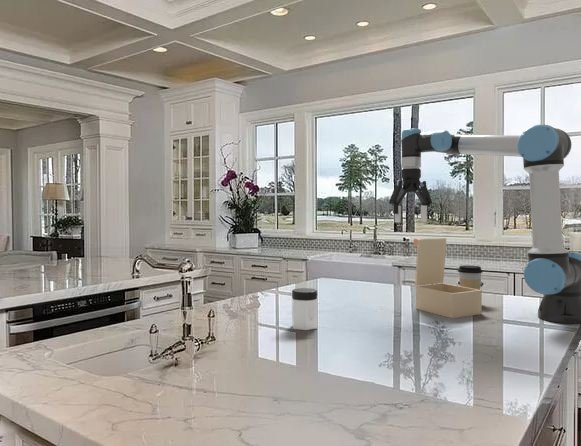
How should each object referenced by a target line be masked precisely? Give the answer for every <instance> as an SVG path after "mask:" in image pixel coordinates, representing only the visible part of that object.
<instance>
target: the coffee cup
mask: <svg viewBox="0 0 581 446" xmlns="http://www.w3.org/2000/svg"><path fill="white" fill-rule="evenodd" d="M457 272H458V273H459V286H461V287H466V288H472V289H477V290H481V286H482V285H481V284H482V283H481V282H482V274H483V269H482V267H481V266H479V265H468V264H466V265H459V268H457Z"/></svg>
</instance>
